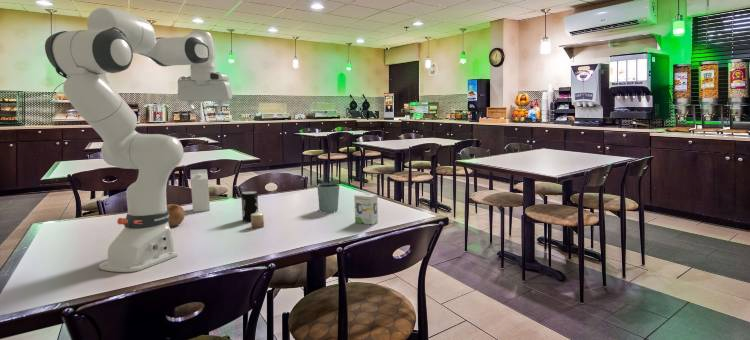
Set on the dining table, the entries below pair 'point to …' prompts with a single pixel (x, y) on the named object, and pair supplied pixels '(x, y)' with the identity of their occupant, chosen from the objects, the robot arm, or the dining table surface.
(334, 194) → the grey green pot
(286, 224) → the dining table surface
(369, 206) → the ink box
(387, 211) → the dining table surface
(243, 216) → the beverage can
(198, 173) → the milk carton
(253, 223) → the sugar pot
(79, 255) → the dining table surface
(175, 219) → the onion
